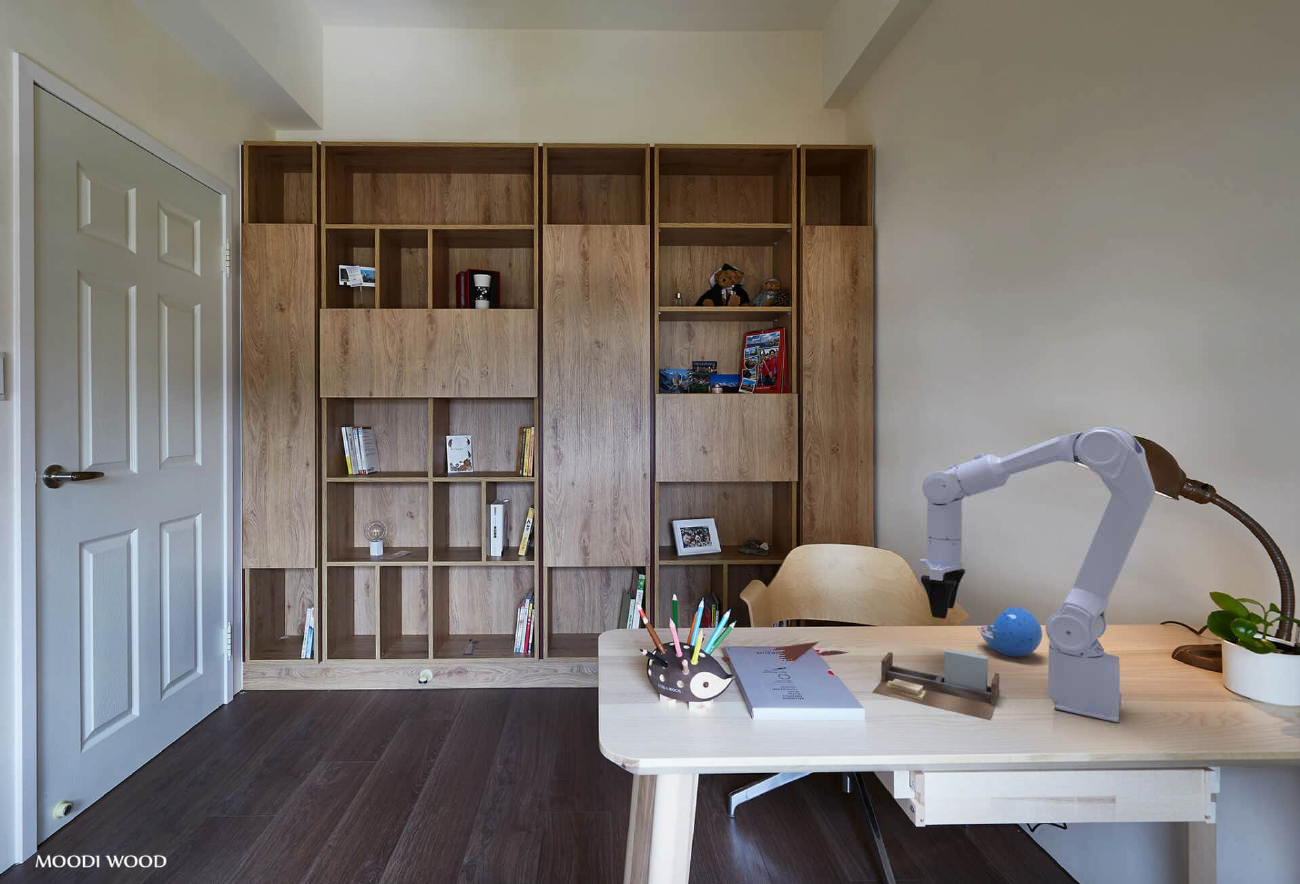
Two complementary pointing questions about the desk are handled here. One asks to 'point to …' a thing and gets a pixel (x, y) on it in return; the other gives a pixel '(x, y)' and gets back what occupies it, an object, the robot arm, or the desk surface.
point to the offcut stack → (905, 689)
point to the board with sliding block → (941, 691)
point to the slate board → (966, 669)
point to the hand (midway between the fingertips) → (943, 612)
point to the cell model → (1013, 633)
